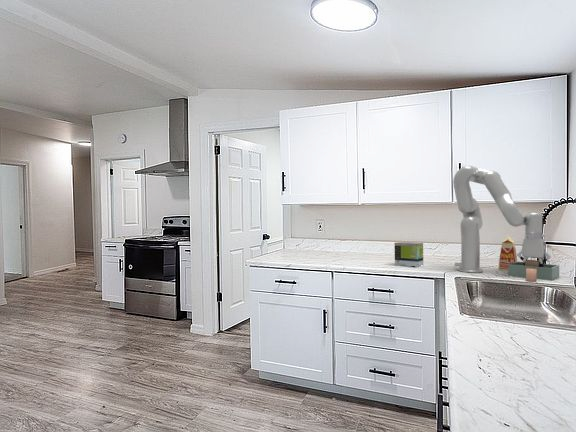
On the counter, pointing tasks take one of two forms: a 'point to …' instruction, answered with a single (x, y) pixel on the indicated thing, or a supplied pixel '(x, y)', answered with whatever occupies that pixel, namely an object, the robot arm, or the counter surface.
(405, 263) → the tea box
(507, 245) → the milk carton
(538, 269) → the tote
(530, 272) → the terracotta jar
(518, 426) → the counter surface
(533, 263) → the walnut block
